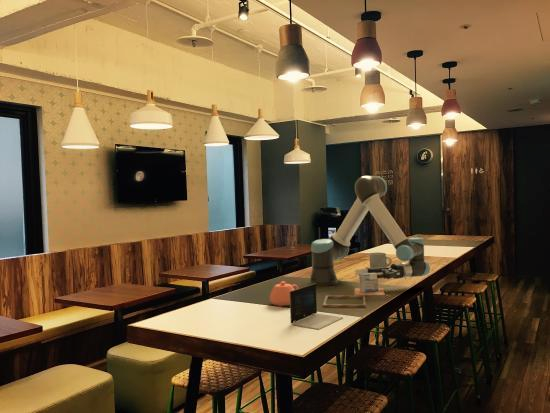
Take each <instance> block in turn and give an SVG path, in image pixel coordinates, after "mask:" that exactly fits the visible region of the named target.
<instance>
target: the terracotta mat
mask: <svg viewBox="0 0 550 413" xmlns="http://www.w3.org/2000/svg"><path fill="white" fill-rule="evenodd" d="M353 296H386V294H385V289H384V288H380V287H378V291H375V292H368V293H364V292H361V291H360V287H358V288H354V295H353Z"/></svg>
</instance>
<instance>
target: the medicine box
mask: <svg viewBox="0 0 550 413" xmlns="http://www.w3.org/2000/svg"><path fill="white" fill-rule="evenodd" d="M370 274H372V273H365V274H359V275H358V276H359V277H358V278H359V280H358V282H359V288H360V291H361V292H364V293H368V292H375V291H378V288H379V279H373V280H370Z"/></svg>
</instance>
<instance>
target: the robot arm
mask: <svg viewBox="0 0 550 413" xmlns="http://www.w3.org/2000/svg"><path fill="white" fill-rule="evenodd" d="M387 191H388V185H387V182H386V180H385V179H384V178H383V177H381V176H378V175H363V176H360V177H359V178H357V180H356V181H355V183H354V192H355V195H356V199H355V201H354V202H353V205H352V206H351V207H350V209H349V210H348V213H347V214H346V216H345V218H344V219H343V221H342V223H341V225H340V226H339V228H338V229H337V231H336V232H333V233H332V234H331V236H330V238H321V239H316V240H314V241H312V242H311V248H310V250H311V273H310V276H309V281H308V283H309V285H311V284H314V283H316V287H317V286H319V287H323V286H324V287H328V286H333V285H337V284H338V277H337V274H336V272H335V268H334V266H335V265H334V264H335V263H334V262H337V261H341V260H343V259H344V258H346V257H347V256H348V254H349V252H350V247H351V242H350V241H351V240H352V237H353V236H354V234H355V233H356V231H357V230H358V228H359V226H360V225H361V224H362V221H363V220H364V219H365V216H366V215H367V214H368V212H369V213H370V214H371V215H372V217H373V218H374V220H375V221H376V223H377V224H378V225H379V228H380V229H381V230H382V231H383V233H384V234H385V236H386V237H387V239H388V240H389V242H390V243H391V244H392V246H393V247H394V249H395V254H396V258H397V259H398V260H400V261H402V262H397V263H395V262H394V263H391V265H390V266H387V267H386V268H385V267H380V268H370V267H365V268H358V269H355V271H354V272H355V276H359V274H365V273H372V274H370V280H373V279H378V280H382V279H387V280H389V279H394V280H396V279H398V280H399V279H405V280H406V279H407V278H416V277H423V276H424V277H425V276H427V275H429V273H430V271H431V267H430V263H429V262H428V261H427V260H425V243H424V241H425V240H424V239H423V238H422V237H409V238H408V237H407V236H406V234H405V233H404V231H402V229H401V227H400V226H399V225H398V223H397V222H396V220H395V219H394V217H393V216H392V215H391V213H390V211H389V209H387V207H386V206H385V204H384V203H383V201H382V200H381V198H382V197H383V196H385V195H386V193H387Z"/></svg>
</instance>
